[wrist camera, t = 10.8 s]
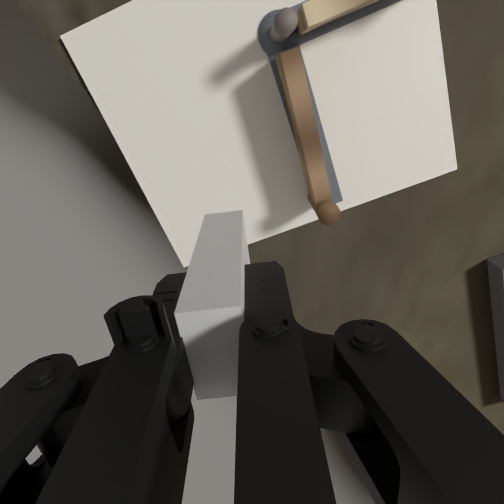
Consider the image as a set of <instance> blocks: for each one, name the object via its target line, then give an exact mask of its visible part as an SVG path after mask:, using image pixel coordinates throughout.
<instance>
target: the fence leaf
mask: <svg viewBox="0 0 504 504" xmlns="http://www.w3.org/2000/svg"><path fill="white" fill-rule="evenodd" d="M276 62H277V66H278V70H279V74H280V79H281V83H282V87H283V91H284V95H285V99H286V103H287V107H288V111H289V115H290V119H291V123H292V127H293V132H294V136H295V140H296V144H297V148H298V152H299V156H300V160H301V164H302V168H303V172H304V176H305V180H306V184H307V189H308V201H309V202H310V204H311V206H312V208H313V210H314V211H315V213H316V215H317V217H318V219H319V220H320V222H321V223H323V224H325V225H331V224H334V223H335V222H337V221H338V219H339V218H340V209H339V207H338V206H337V205H336V203H335V202H334V201H333V199H332V194H331V189H330V185H329V180H328V175H327V171H326V166H325V162H324V157H323V152H322V148H321V143H320V138H319V134H318V129H317V124H316V120H315V115H314V111H313V106H312V101H311V97H310V92H309V87H308V83H307V78H306V74H305V69H304V64H303V60H302V55H301V50H300V46H299V47H296V48H293V49H290V50H287V51H284V52H282V53H280V54H279V55H278V56H277V57H276Z"/></svg>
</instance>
